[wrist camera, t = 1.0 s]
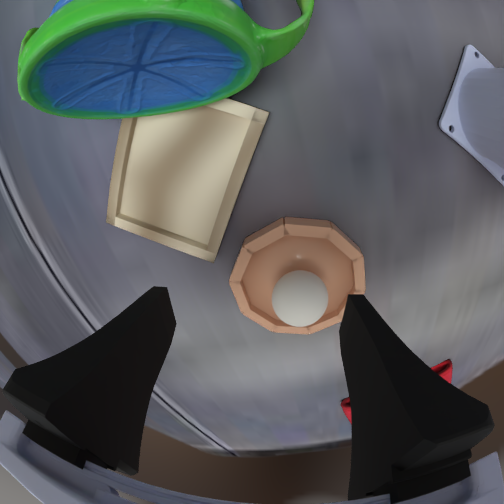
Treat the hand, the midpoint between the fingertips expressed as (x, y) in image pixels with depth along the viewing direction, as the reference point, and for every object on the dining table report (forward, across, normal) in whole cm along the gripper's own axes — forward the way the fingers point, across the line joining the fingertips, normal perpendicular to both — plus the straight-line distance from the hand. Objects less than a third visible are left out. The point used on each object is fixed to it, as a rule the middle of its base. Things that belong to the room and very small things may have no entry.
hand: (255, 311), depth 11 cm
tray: (+10, +6, -4) cm, 12 cm away
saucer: (+10, -2, +5) cm, 11 cm away
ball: (+7, -2, +5) cm, 9 cm away
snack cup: (+6, +6, -19) cm, 21 cm away
